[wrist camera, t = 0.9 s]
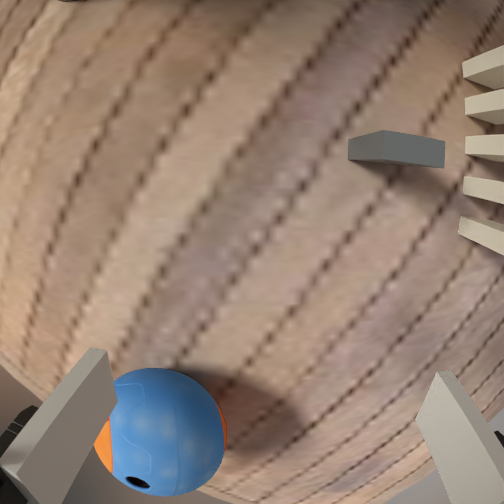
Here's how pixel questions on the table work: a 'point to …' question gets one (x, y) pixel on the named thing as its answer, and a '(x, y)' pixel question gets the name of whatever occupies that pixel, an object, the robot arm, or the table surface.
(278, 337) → the table surface
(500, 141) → the domino
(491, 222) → the domino
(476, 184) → the domino
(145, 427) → the treat dispenser ball
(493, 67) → the domino
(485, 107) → the domino
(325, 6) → the table surface
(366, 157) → the domino
